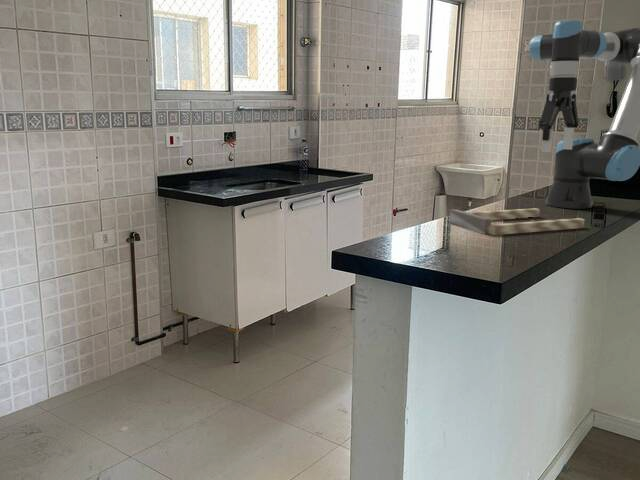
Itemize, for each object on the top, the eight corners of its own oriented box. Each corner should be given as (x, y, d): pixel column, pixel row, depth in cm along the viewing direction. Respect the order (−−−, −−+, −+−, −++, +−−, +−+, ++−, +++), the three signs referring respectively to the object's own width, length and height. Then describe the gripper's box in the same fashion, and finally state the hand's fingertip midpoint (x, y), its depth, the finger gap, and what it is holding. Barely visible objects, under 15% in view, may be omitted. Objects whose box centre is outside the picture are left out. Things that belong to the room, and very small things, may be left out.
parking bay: (534, 215, 190) (535, 203, 189) (583, 227, 172) (585, 214, 171) (445, 222, 178) (446, 208, 177) (488, 235, 160) (489, 220, 159)
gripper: (570, 78, 185) (563, 147, 190) (530, 76, 169) (524, 152, 174) (594, 77, 180) (587, 148, 185) (555, 75, 163) (549, 153, 168)
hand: (556, 150), depth 179 cm, fingers open, 13 cm apart
